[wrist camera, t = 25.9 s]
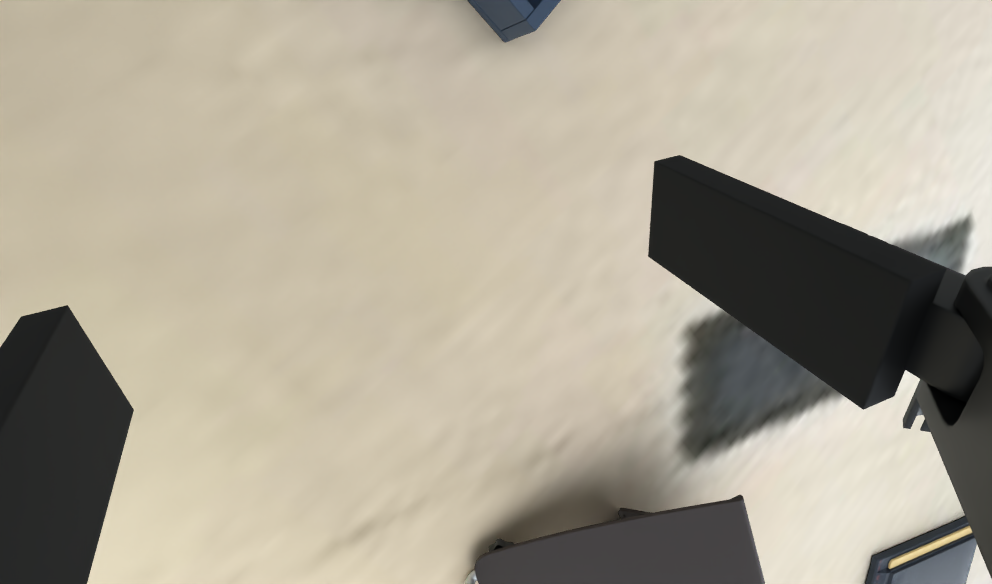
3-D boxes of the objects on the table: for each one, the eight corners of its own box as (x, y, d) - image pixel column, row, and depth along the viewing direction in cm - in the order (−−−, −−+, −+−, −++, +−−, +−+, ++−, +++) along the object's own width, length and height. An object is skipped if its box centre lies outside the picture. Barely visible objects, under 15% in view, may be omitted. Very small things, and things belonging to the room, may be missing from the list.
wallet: (864, 657, 69) (887, 562, 65) (850, 644, 71) (872, 551, 66) (966, 609, 76) (994, 519, 71) (951, 598, 77) (978, 510, 73)
